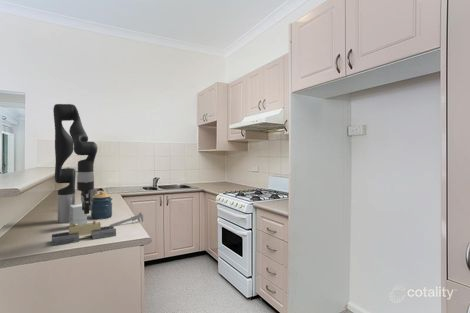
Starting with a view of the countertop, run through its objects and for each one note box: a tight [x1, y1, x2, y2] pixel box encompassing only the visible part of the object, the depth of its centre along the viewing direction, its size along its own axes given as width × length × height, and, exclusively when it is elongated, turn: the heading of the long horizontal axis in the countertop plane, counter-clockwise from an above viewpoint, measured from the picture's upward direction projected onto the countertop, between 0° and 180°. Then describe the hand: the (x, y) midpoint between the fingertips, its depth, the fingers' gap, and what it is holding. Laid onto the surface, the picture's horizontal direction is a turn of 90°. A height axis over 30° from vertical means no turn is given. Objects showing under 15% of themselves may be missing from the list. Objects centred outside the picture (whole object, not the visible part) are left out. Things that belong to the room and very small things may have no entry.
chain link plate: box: [68, 220, 102, 237], centre depth 135 cm, size 3×14×6 cm, turn 125°
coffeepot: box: [87, 187, 105, 212], centre depth 200 cm, size 15×9×18 cm, turn 118°
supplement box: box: [69, 203, 88, 226], centre depth 155 cm, size 7×7×13 cm
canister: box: [90, 191, 113, 220], centre depth 178 cm, size 13×13×18 cm
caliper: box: [109, 211, 144, 227], centre depth 162 cm, size 20×1×6 cm, turn 129°
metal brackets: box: [51, 225, 117, 247], centre depth 135 cm, size 8×28×4 cm, turn 125°
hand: (85, 212), depth 135 cm, fingers open, 8 cm apart
